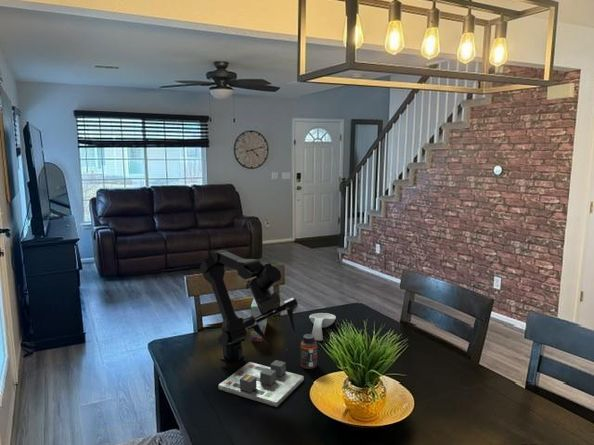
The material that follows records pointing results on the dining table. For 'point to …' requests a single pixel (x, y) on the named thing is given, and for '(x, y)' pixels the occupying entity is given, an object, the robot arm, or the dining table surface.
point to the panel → (262, 385)
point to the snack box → (262, 324)
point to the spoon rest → (321, 323)
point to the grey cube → (248, 383)
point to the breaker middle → (268, 376)
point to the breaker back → (278, 367)
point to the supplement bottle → (308, 352)
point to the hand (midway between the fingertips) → (281, 338)
